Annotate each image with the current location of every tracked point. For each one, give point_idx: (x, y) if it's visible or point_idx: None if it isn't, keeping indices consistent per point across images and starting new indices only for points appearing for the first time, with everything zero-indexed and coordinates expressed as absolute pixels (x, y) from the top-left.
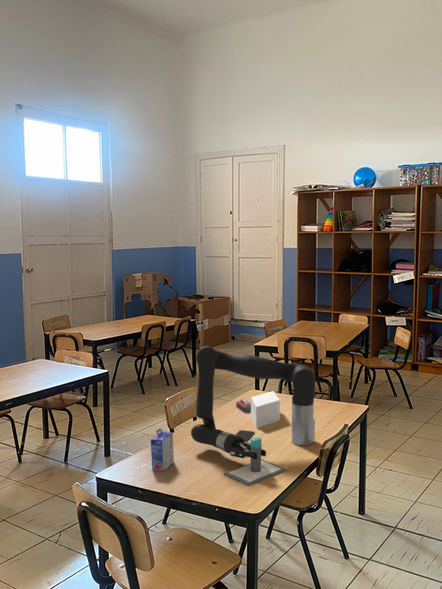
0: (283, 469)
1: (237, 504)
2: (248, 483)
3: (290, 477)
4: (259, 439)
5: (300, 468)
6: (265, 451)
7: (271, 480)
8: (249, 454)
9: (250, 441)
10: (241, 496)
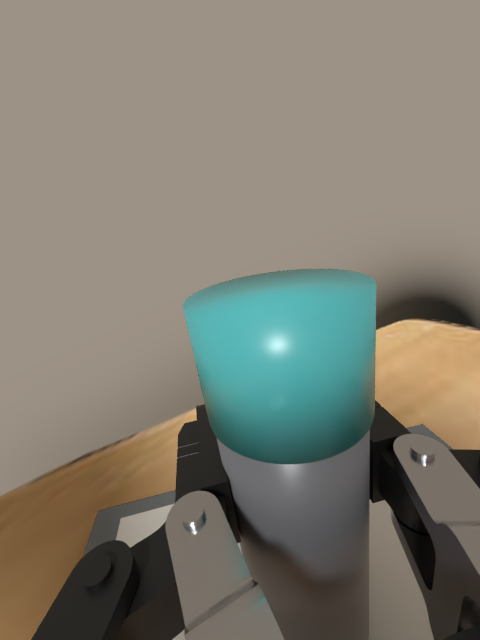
0: (117, 508)
1: (476, 344)
2: (420, 429)
3: (170, 436)
4: (228, 287)
5: (21, 504)
6: (204, 406)
7: None
8: (398, 431)
9: (375, 310)
10: (462, 373)
